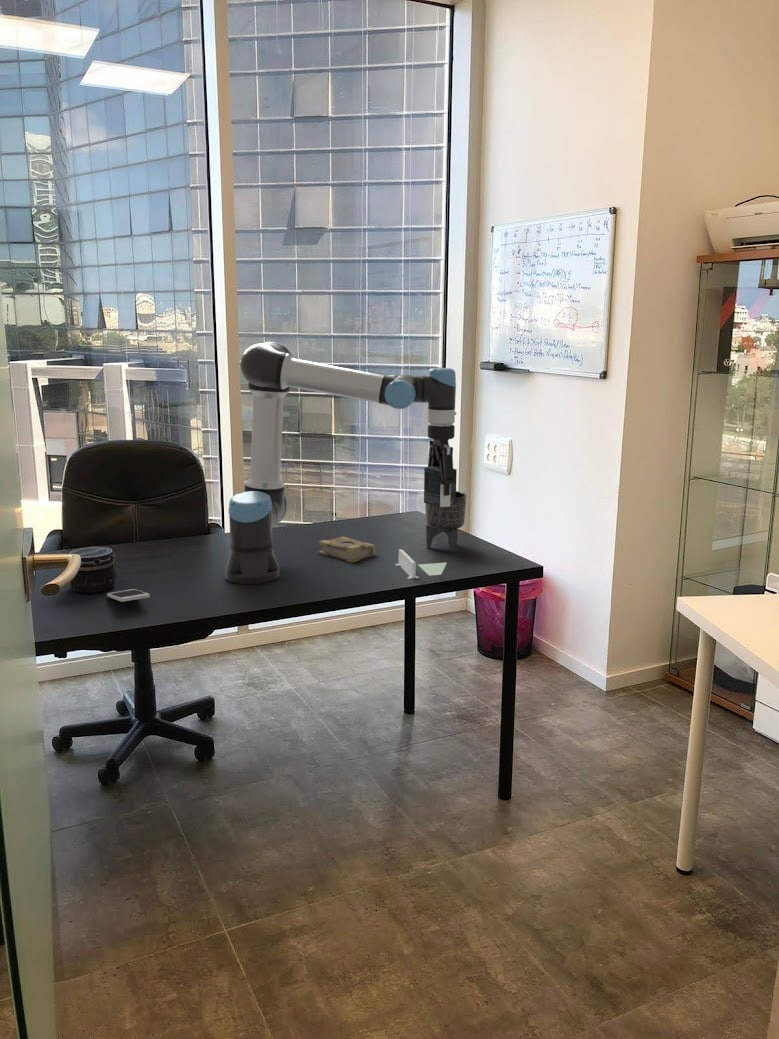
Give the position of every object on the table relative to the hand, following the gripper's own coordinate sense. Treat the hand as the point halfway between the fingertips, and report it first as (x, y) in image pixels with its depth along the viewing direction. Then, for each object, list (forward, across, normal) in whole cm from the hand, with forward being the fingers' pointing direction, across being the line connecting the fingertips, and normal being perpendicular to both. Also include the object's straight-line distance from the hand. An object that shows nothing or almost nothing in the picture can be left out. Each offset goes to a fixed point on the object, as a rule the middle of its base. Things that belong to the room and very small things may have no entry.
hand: (439, 502), depth 247 cm
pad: (+20, 0, 0) cm, 20 cm away
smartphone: (+19, -15, +84) cm, 88 cm away
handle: (+20, 0, +10) cm, 22 cm away
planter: (+20, +21, -9) cm, 31 cm away
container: (+21, +8, +96) cm, 98 cm away
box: (+1, 0, 0) cm, 1 cm away
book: (+21, +22, +22) cm, 38 cm away
